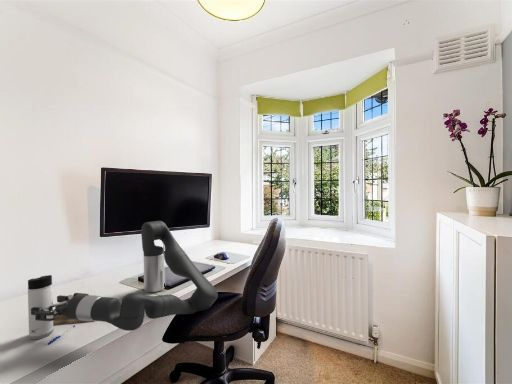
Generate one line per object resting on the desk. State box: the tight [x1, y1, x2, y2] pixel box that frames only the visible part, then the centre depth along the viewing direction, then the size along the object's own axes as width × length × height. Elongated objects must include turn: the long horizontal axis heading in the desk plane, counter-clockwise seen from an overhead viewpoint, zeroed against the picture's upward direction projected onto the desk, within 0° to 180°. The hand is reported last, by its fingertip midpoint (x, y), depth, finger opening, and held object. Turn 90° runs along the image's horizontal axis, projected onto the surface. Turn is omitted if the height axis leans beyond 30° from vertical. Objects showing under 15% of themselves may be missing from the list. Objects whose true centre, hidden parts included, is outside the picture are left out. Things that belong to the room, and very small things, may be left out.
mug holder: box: [53, 308, 91, 326], centre depth 98 cm, size 20×16×4 cm
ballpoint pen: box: [47, 325, 76, 346], centre depth 84 cm, size 10×1×1 cm, turn 178°
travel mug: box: [27, 274, 54, 341], centre depth 84 cm, size 6×7×20 cm
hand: (45, 304), depth 83 cm, fingers open, 8 cm apart
